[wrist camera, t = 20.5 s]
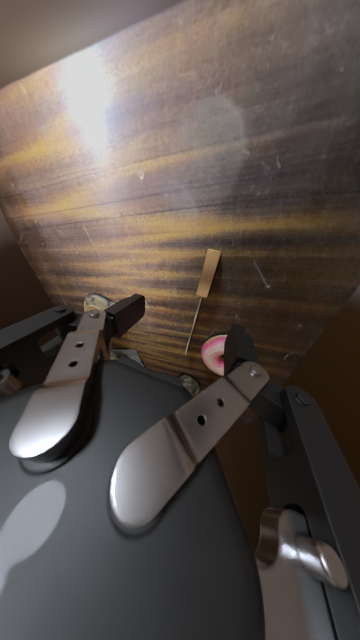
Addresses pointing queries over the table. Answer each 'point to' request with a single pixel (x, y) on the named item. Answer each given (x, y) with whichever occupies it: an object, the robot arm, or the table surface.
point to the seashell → (191, 385)
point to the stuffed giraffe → (125, 354)
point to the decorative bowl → (96, 302)
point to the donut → (214, 354)
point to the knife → (206, 279)
